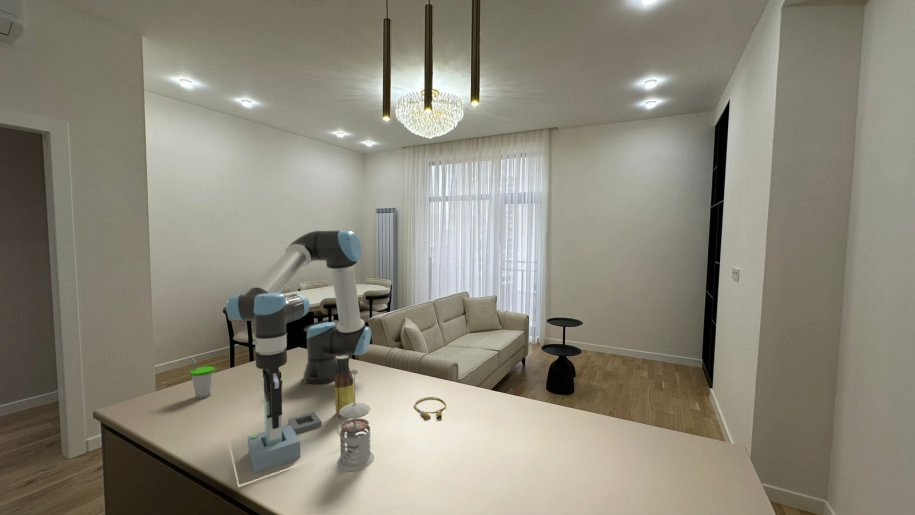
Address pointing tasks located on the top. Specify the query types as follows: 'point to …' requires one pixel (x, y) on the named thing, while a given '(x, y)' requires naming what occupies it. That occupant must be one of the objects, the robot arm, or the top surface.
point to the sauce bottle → (343, 384)
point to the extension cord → (430, 412)
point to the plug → (267, 412)
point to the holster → (305, 422)
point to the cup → (202, 380)
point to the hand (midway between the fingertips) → (273, 435)
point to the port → (273, 450)
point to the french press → (354, 436)
